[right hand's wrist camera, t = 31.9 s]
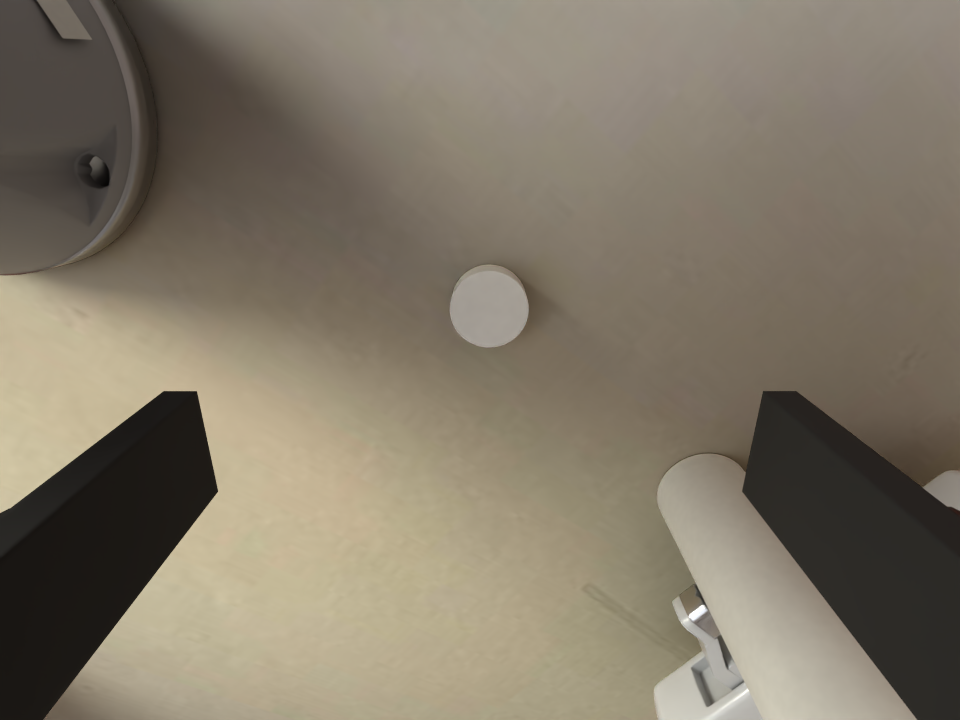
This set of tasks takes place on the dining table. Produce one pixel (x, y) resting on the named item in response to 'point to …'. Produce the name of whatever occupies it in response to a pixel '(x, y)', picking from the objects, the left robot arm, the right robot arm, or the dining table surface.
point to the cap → (489, 306)
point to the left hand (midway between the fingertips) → (739, 560)
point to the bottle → (768, 603)
